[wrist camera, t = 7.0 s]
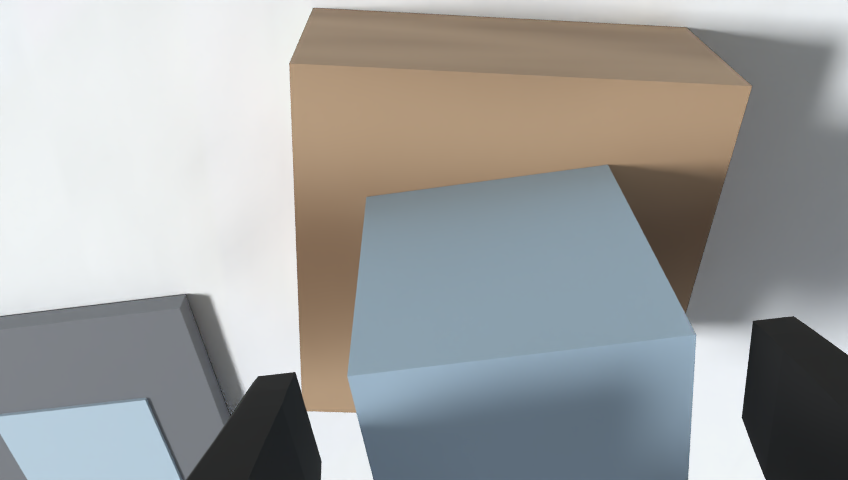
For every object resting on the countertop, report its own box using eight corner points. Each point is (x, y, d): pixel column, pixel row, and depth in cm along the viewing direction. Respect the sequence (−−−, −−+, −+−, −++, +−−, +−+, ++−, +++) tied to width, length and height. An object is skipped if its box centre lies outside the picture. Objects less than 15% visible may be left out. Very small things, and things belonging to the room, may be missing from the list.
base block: (613, 315, 21) (653, 421, 17) (320, 305, 20) (302, 411, 17) (681, 23, 17) (752, 85, 13) (314, 3, 16) (289, 63, 13)
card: (275, 540, 25) (272, 559, 24) (41, 564, 25) (32, 583, 25) (185, 294, 20) (178, 310, 19) (-108, 329, 20) (-124, 346, 19)
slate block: (611, 352, 16) (683, 558, 12) (403, 377, 16) (401, 587, 12) (608, 164, 14) (695, 334, 10) (366, 196, 14) (347, 376, 10)
